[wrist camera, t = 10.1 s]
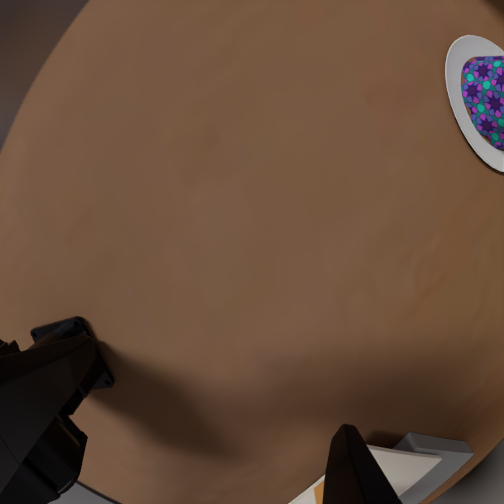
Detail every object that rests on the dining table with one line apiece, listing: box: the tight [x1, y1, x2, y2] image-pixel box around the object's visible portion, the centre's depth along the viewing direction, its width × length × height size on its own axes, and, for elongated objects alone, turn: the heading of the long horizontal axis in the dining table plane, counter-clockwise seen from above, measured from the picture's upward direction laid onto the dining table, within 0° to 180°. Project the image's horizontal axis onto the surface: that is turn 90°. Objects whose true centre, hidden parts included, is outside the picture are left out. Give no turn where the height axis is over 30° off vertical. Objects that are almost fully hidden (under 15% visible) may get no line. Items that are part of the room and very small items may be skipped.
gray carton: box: [393, 432, 474, 504], centre depth 24 cm, size 12×12×2 cm
